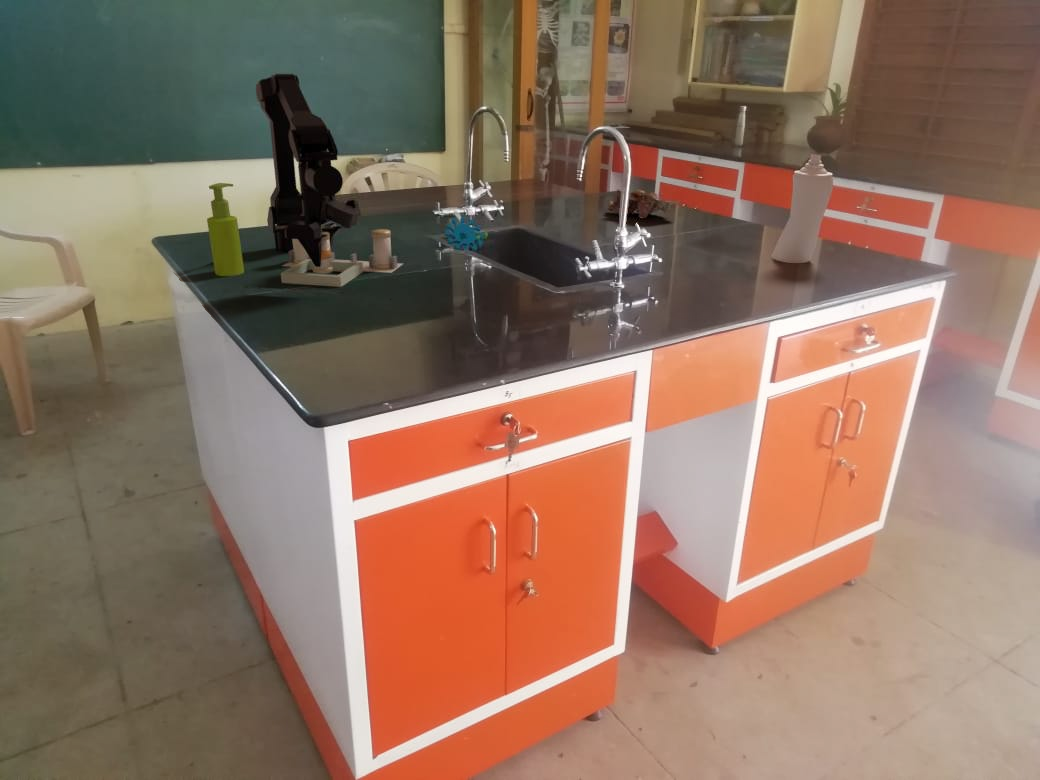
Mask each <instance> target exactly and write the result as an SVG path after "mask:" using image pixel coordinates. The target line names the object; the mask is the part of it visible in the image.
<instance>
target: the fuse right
mask: <svg viewBox="0 0 1040 780" xmlns="http://www.w3.org/2000/svg"><path fill="white" fill-rule="evenodd" d="M391 232H392V231H391V230H390V229H386V228H385V229H383V228H382V229H381V228H378V229H374V230H372V231H371V237H372V248H373V254H374V268H375V269H382V270H383V269H390V268H392V264H391V257H392V245H391V244H392V243H391V240H392V239H391Z"/></svg>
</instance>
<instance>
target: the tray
mask: <svg viewBox="0 0 1040 780" xmlns="http://www.w3.org/2000/svg"><path fill="white" fill-rule="evenodd" d="M331 262H332V267H333V272H337V273H338V272H340V273H339V274H316V273H307V272H308V271H313V262H312V260H311V259H306V260H304V261H302V262H300V263H298V264H297V265H295V266H293V267H289V268H288V269H285V270H284V271H282V272H281V273H280V279H281V284H293V285H308V286H309V285H311V286H324V287H325V286H327V287H339V288H342V287H343V286H344V285H346V284H348V283H349V282H351V281H352V280H353V279H355V278H356V277H357V276H359V275H361V274H362V273H364V271H363V263H362V262H346V261H331ZM282 290H284V291H285V290H286V291H295V292H296V291H299V292H311V293H312V292H313V293H316V292H317V293H330V294H340V295H342V294H343V293H344V292H343V291H334V290H333V291H329V290H317V289H303V288H301V289H300V288H285V287H282Z"/></svg>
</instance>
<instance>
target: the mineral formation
mask: <svg viewBox="0 0 1040 780" xmlns="http://www.w3.org/2000/svg"><path fill="white" fill-rule="evenodd" d="M629 194H630V199H629V207H628V215H627V216H630V214H631V213H635V212H639V213H638V218H639V217H646V218H647V217H648V216H649V215H651V214H652V213H655V212H657V211H663V213H664V215H665V213H666V212H668V210H669V209H671V206H672V205H675V206H676V205H678V206H680V205H681V202H680V201H678V200H676V201H675V200H674V201H673V200H663V199H661V198H658V194H657V193H656V192H655V193H654V192H652V191H650V192H649V193H646V192H645V190H644V189H640V188H638V189H637V190H633V191H632V192H630V193H629ZM620 198H621V189H617V190H616V199H615V200H614V201H612V200H610V201H609V203H608V208H607V211H609V212H613V213H614V214H618V215H619V208H620ZM629 213H630V214H629ZM648 214H649V215H648Z"/></svg>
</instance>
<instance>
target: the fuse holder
mask: <svg viewBox="0 0 1040 780" xmlns="http://www.w3.org/2000/svg"><path fill="white" fill-rule="evenodd" d="M287 253H288V259H289V261H288V262H286V263H284V264H282V265H281V266H282V267H289V268H291V267H293V266H295V265H297V264H295V263H294V250H291V251H289V252H287ZM335 254H336V253H335V252H334V251H331V261H346V262H362V263H363V272H372V273H374V272H375V273H387V274H392V273H393V272H394V271H396V270H398V269H399V268H400V267H401V266H403V265H404V263H399V262H398V256H397V255H393V256H391V264H392V268H390V269H383V270H382V269H375V268H374V253H372V254H371V255H368V261H366V260H364V261H363V260H358V259H357V257H358V256H357V253H355V252H354V253H352V254H350V256H349V257H350V260H348V259H336V256H335Z"/></svg>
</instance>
